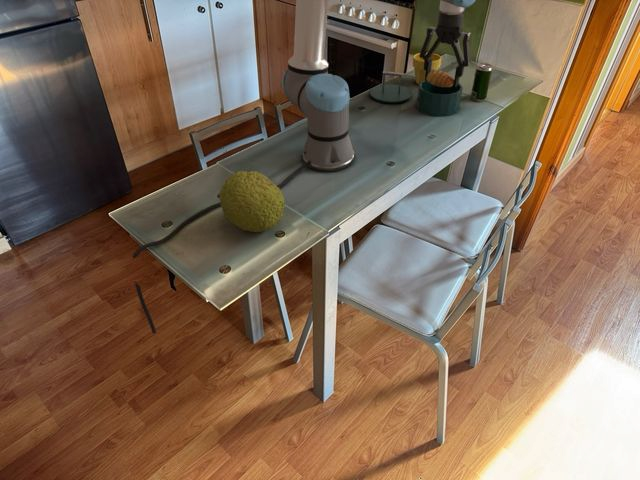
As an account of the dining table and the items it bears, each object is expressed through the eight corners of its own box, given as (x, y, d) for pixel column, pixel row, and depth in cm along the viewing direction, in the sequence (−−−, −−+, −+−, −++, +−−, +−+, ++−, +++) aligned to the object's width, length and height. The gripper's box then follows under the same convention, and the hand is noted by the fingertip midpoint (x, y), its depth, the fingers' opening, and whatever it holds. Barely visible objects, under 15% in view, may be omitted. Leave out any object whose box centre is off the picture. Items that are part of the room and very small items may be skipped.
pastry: (458, 84, 158) (460, 73, 155) (446, 90, 154) (448, 79, 152) (435, 77, 163) (436, 66, 160) (423, 83, 159) (424, 72, 157)
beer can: (479, 103, 166) (486, 69, 158) (467, 98, 169) (473, 65, 162) (489, 99, 168) (496, 65, 161) (477, 94, 172) (483, 61, 164)
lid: (407, 106, 165) (409, 82, 160) (365, 101, 169) (366, 77, 164) (415, 90, 176) (418, 66, 171) (375, 85, 180) (377, 62, 175)
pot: (455, 118, 157) (459, 97, 152) (413, 113, 161) (415, 92, 156) (461, 101, 168) (464, 80, 163) (421, 96, 172) (423, 76, 167)
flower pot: (422, 75, 187) (425, 50, 181) (443, 82, 181) (447, 56, 175) (405, 82, 182) (407, 56, 176) (425, 89, 176) (428, 63, 170)
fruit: (298, 212, 119) (295, 184, 105) (262, 254, 115) (254, 231, 101) (250, 177, 123) (241, 146, 109) (213, 217, 119) (198, 189, 105)
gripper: (491, 13, 142) (477, 85, 156) (423, 4, 152) (416, 72, 166) (482, 19, 137) (468, 93, 151) (413, 9, 147) (406, 79, 161)
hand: (441, 82), depth 159 cm, fingers closed on pastry, 10 cm apart
